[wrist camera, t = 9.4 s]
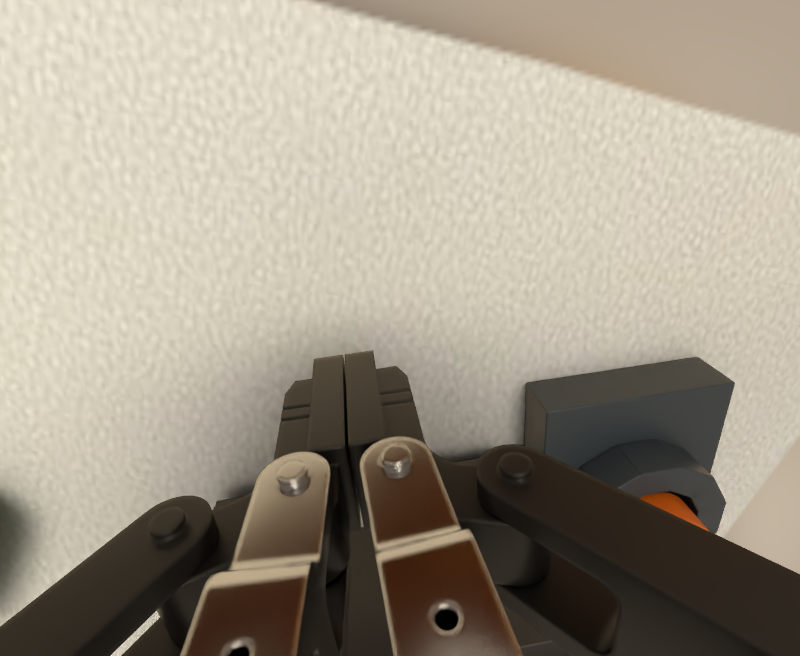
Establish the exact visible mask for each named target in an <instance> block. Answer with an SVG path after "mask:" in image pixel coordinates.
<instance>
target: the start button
mask: <svg viewBox="0 0 800 656" xmlns="http://www.w3.org/2000/svg"><path fill="white" fill-rule="evenodd" d="M639 499H641V500H643V501H645V502H648V503H650V504H652V505H654V506H656V507H658V508H660V509H662V510H664V511H667V512H669V513H671V514H673V515H675V516H677V517H679V518H681V519H684V520H686V521H688V522H690V523H692V524H694V525H696V526H698V527H700V528H703V529H705V530H707V531H709V530H708V529H707V528H706V527H705V525H704V524H703V523H702V522H701V521H700V520H699V519H698V518H697V516H696V515H695V514H694V513H693V512H692V511H691V510H690V508H689V507H688V506H687V505H686V504H685V503H684V502H683V501H682V500H681V499H680V498H679V497H678V496H676V495H674V494H671V493H667V492H662V493H656V494H650V495H645V496H643V497H641V498H639ZM709 532H710V531H709Z"/></svg>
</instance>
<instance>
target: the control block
mask: <svg viewBox="0 0 800 656" xmlns="http://www.w3.org/2000/svg"><path fill="white" fill-rule="evenodd" d="M734 384H735V383H734V382H733V381H732V380H730V379H729V378H727V377H726V376H724V375H723V374H722V373H720V372H719V371H717V370H716V369H714V368H713V367H712V366H710V365H709V364H707V363H706V362H704V361H703V360H701V359H700V358H698V357H695V358H689V359H682V360H676V361H669V362H662V363H656V364H649V365H643V366H636V367H629V368H623V369H616V370H610V371H603V372H596V373H590V374H583V375H577V376H570V377H563V378H557V379H550V380H544V381H537V382H530V383H527V391H526V416H525V442H524V446H527V447H530V448H533V449H535V450H537V451H540V452H542V453H544V454H546V455H548V456H550V457H552V458H554V459H556V460H559V461H561V462H563V463H565V464H567V465H569V466H571V467H573V468H576V469H578V470H580V471H582V472H584V473H586V474H588V475H590V476H592V477H595V478H597V479H599V480H601V481H603V482H605V483H607V484H609V485H612V486H614V487H616V488H618V489H620V490H622V491H624V492H626V493H628V494H631V495H633V496H635V497H637V498H641V497H643V496H645V495H650V494H656V493H662V492H667V493H671V494H674V495H676V496H678V497H679V498H680V499H681V500H682V501H683V502H684V503H685V504H686V505H687V506H688V507H689V508H690V510H691V511H692V512H693V513H694V514H695V515H696V516H697V518H698V519H699V520H700V521H701V522H702V523H703V524H704V525H705V527H706V528H707V529H708V530H709V531H710V532H711V533H713V534H715V533H716V532H717V530H718V528H719V524H720V521H721V518H722V514H723V511H724V508H725V505H726V501H725V499H724V497H723V495H722V493H721V491H720V489H719V487H718V485H717V483H716V481H715V479H714V477H713V476H712V475H711V474H710V473H711V469H712V465H713V462H714V458H715V454H716V451H717V447H718V443H719V440H720V436H721V432H722V429H723V425H724V421H725V417H726V414H727V410H728V406H729V403H730V399H731V395H732V392H733V388H734Z"/></svg>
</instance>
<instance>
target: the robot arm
mask: <svg viewBox="0 0 800 656" xmlns="http://www.w3.org/2000/svg"><path fill="white" fill-rule="evenodd" d="M360 510H361V515H362V520H363V526H364V531H371V533H372V539H373V545H374V551H375V556H376V562H377V568H378V573H379V579H380V584H381V590H382V596H383V601H384V607H385V613H386V618H387V624H388V629H389V635H390V641H391V646H392V652H393V656H523V653H522V651H521V648H520V646H519V644H518V641H517V639H516V636H515V634H514V632H513V629H512V627H511V624H510V622H509V620H508V617H507V615H506V612H505V610H504V607H503V605H504V606H506V607H507V608H508V609H510V610H511V611H512V612H514V613H515V614H516V615H518V616H519V617H520V618H522V619H523V620H524V621H526V622H527V623H528V624H530V625H531V626H532V627H534V628H535V629H536V630H538V631H539V632H540V633H542V634H543V635H544V636H546V637H547V638H548V639H550V640H551V641H552V642H554V643H555V644H556V645H558V646H559V647H560V648H562V649H563V650H564V651H565V652H567V653H568V654H569V655H571V656H800V574H798V573H796V572H794V571H791V570H789V569H787V568H785V567H783V566H781V565H779V564H777V563H775V562H772V561H770V560H768V559H766V558H764V557H762V556H760V555H757V554H755V553H753V552H751V551H749V550H747V549H745V548H743V547H741V546H739V545H736V544H734V543H732V542H730V541H728V540H726V539H724V538H722V537H720V536H717V535H715V534H713V533H711V532H709V531H707V530H705V529H703V528H700V527H698V526H696V525H694V524H692V523H690V522H688V521H686V520H684V519H681V518H679V517H677V516H675V515H673V514H671V513H669V512H667V511H664V510H662V509H660V508H658V507H656V506H654V505H652V504H650V503H648V502H645V501H643V500H641V499H639V498H637V497H635V496H633V495H631V494H628V493H626V492H624V491H622V490H620V489H618V488H616V487H614V486H612V485H609V484H607V483H605V482H603V481H601V480H599V479H597V478H595V477H592V476H590V475H588V474H586V473H584V472H582V471H580V470H578V469H576V468H573V467H571V466H569V465H567V464H565V463H563V462H561V461H559V460H556V459H554V458H552V457H550V456H548V455H546V454H544V453H542V452H540V451H537V450H535V449H533V448H530V447H527V446H522V445H502V446H497V447H495V448H492V449H490V450H488V451H487V452H485V453H484V454H483V455H482V456H481V457H480V459H479V460H478V463H477V464H466V463H457V462H452V461H448V460H445V459H443V458H440V457H439V456H437V455H435V454H434V453H433V452H431V450H430V449H429V448H428V447H427V445H426V444H425V441H424V438H423V434H422V430H421V426H420V423H419V419H418V415H417V411H416V407H415V404H414V401H413V396H412V392H411V389H410V385H409V381H408V377H407V375H406V374H404V373H403V372H402V371H401V370H400V369H399V368H398V367H396V366H394V367H388V368H381V369H376V367H375V361H374V354H373V350H372V351H365V352H358V353H351V354H345V362H344V357H343V355H338V356H331V357H325V358H318V359H314V364H313V377H312V379H307V380H301V381H295V383H294V384H293V385H292V386H291V388H290V389H289V390H288V391H287V392H286V394H285V398H284V404H283V411H282V415H281V422H280V427H279V433H278V439H277V445H276V451H275V457H274V461H273V462H271V463H270V464H268V465H267V466H266V467H265V468H264V469H263V470H262V471H261V473H260V474H259V476H258V478H257V480H256V483H255V487H254V490H253V491H252V492H251V493H249V494H248V495H246V496H244V497H242V498H240V499H238V500H236V501H233V502H231V503H228V504H226V505H224V506H221V507H219V508H216V509H214V510H211V508H210V505H209V504H208V502H207V501H205V500H204V499H202V498H200V497H196V496H181V497H176V498H172V499H170V500H167V501H164V502H162V503H160V504H158V505H156V506H155V507H153V508H151V509H150V510H148V511H147V512H146V513H144V514H143V515H142V516H141V517H139V518H138V519H137V520H135V521H134V522H133V523H132V524H130V525H129V526H128V527H127V528H125V529H124V530H123V531H121V532H120V533H119V534H118V535H116V536H115V537H114V538H113V539H111V540H110V541H109V542H107V543H106V544H105V545H104V546H102V547H101V548H100V549H99V550H97V551H96V552H95V553H93V554H92V555H91V556H90V557H88V558H87V559H86V560H85V561H83V562H82V563H81V564H79V565H78V566H77V567H76V568H74V569H73V570H72V571H71V572H69V573H68V574H67V575H65V576H64V577H63V578H62V579H60V580H59V581H58V582H57V583H55V584H54V585H53V586H51V587H50V588H49V589H48V590H46V591H45V592H44V593H43V594H41V595H40V596H39V597H38V598H36V599H35V600H34V601H32V602H31V603H30V604H29V605H27V606H26V607H25V608H24V609H22V610H21V611H20V612H18V613H17V614H16V615H15V616H13V617H12V618H11V619H10V620H8V621H7V622H6V623H4V624H3V625H2V626H1V627H0V656H110V655H111V654H112V653H113V652H114V651H115V650H116V649H117V648H118V647H119V646H120V645H121V644H122V643H123V642H125V641H126V640H127V639H128V638H129V637H130V636H131V635H132V634H133V633H134V632H135V631H136V630H137V629H138V628H139V627H140V626H141V625H142V624H143V623H144V622H145V621H146V620H147V619H148V618H149V617H150V616H151V615H152V614H153V613H154V612H155V611H156V610H157V612H158V614H159V616H160V618H159V619H158V620H157V621H156V622H155V623H154V624H153V625H152V626H151V627H150V628H149V629H148V630H147V631H146V632H145V633H144V634H143V635H142V636H141V637H140V638H139V639H138V640H137V641H136V642H135V643H134V644H133V645H132V646H131V647H130V648H129V649H128V650H127V651H126V652H125V653H124V654H123V655H122V656H347V647H348V627H349V606H350V585H351V564H350V560H349V558H350V551H351V550H350V534H355V533H361V518H360ZM502 604H503V605H502Z"/></svg>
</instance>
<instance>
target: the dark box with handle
mask: <svg viewBox="0 0 800 656" xmlns="http://www.w3.org/2000/svg"><path fill="white" fill-rule="evenodd" d="M479 459H480V458H478V459H471V460H465V461H459V462H457V463H466V464H477V463H478V460H479ZM240 498H242V497H239V498H233V499H227V500H221V501H217V502H216V506H215V509H216V508H219V507H221V506H224V505H226V504H228V503H231V502H233V501H236V500H238V499H240ZM360 518H361V533H355V534H350V550H351V551H350V558H349V560H350V564H351V585H350V606H349V627H348V647H347V656H393V652H392V646H391V641H390V635H389V629H388V624H387V618H386V613H385V607H384V601H383V596H382V590H381V584H380V579H379V573H378V568H377V562H376V556H375V551H374V545H373V539H372V533H371V531H364V526H363V520H362V515H361V510H360ZM502 605H503V604H502ZM503 607H504V610H505V612H506V615H507V617H508V620H509V622H510V624H511V627H512V629H513V632H514V634H515V636H516V639H517V641H518V644H519V646H520V648H521V651H522V653H523V656H571V655H569V654H568V653H567V652H565V651H564V650H563V649H562V648H560V647H559V646H558V645H556V644H555V643H554V642H552V641H551V640H550V639H548V638H547V637H546V636H544V635H543V634H542V633H540V632H539V631H538V630H536V629H535V628H534V627H532V626H531V625H530V624H528V623H527V622H526V621H524V620H523V619H522V618H520V617H519V616H518V615H516V614H515V613H514V612H512V611H511V610H510V609H508V608H507V607H506V606H504V605H503Z"/></svg>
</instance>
